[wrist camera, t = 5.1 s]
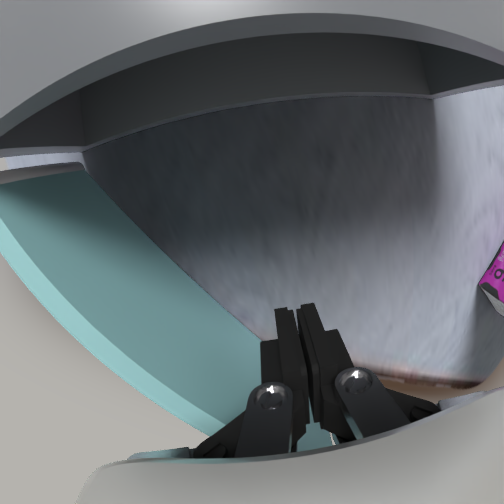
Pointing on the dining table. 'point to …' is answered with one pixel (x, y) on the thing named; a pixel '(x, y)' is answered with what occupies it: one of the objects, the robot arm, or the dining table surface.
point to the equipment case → (224, 60)
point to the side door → (129, 298)
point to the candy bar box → (495, 282)
